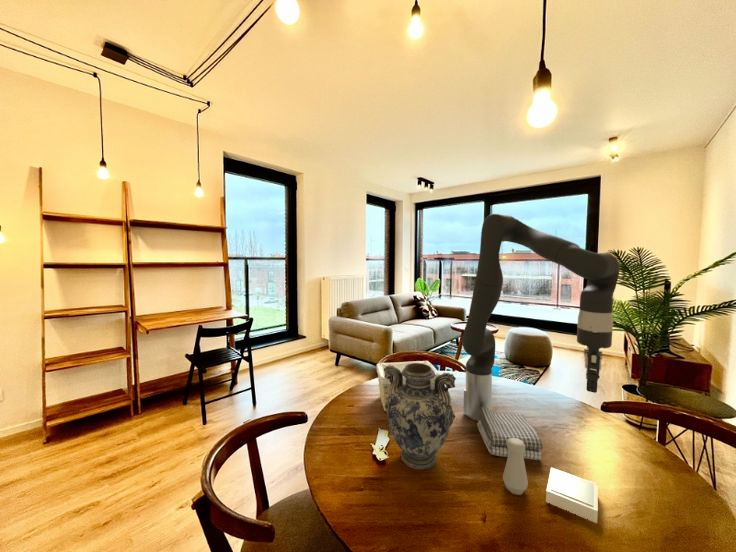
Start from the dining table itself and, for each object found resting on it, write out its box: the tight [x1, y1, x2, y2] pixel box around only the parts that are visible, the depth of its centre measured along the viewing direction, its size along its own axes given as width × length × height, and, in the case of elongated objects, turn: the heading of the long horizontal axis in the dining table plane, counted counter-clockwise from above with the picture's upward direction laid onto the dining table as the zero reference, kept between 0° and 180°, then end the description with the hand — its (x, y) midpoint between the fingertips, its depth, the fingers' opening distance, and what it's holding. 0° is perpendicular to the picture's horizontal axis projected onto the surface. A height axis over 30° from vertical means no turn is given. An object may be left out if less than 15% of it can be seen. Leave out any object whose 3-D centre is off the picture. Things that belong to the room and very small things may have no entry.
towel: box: [476, 407, 544, 461], centre depth 97 cm, size 15×18×8 cm
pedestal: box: [545, 467, 599, 524], centre depth 75 cm, size 10×10×3 cm
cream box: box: [376, 360, 441, 413], centre depth 124 cm, size 24×16×15 cm
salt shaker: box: [502, 438, 529, 496], centre depth 78 cm, size 6×6×13 cm
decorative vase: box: [384, 363, 456, 471], centre depth 90 cm, size 21×19×28 cm
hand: (591, 385), depth 82 cm, fingers open, 8 cm apart
